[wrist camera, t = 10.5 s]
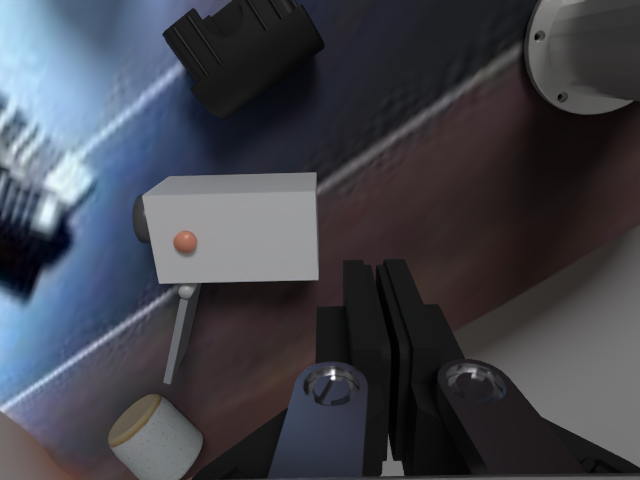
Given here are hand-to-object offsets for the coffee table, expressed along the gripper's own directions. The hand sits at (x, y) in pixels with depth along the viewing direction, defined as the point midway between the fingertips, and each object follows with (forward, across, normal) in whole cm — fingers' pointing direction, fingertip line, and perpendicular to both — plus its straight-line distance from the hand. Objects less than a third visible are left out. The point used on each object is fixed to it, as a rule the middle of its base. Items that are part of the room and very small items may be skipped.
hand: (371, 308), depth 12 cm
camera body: (+29, +9, +7) cm, 31 cm away
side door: (+29, +16, +17) cm, 37 cm away
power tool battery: (+29, +7, -8) cm, 31 cm away
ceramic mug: (+29, +22, +33) cm, 50 cm away
